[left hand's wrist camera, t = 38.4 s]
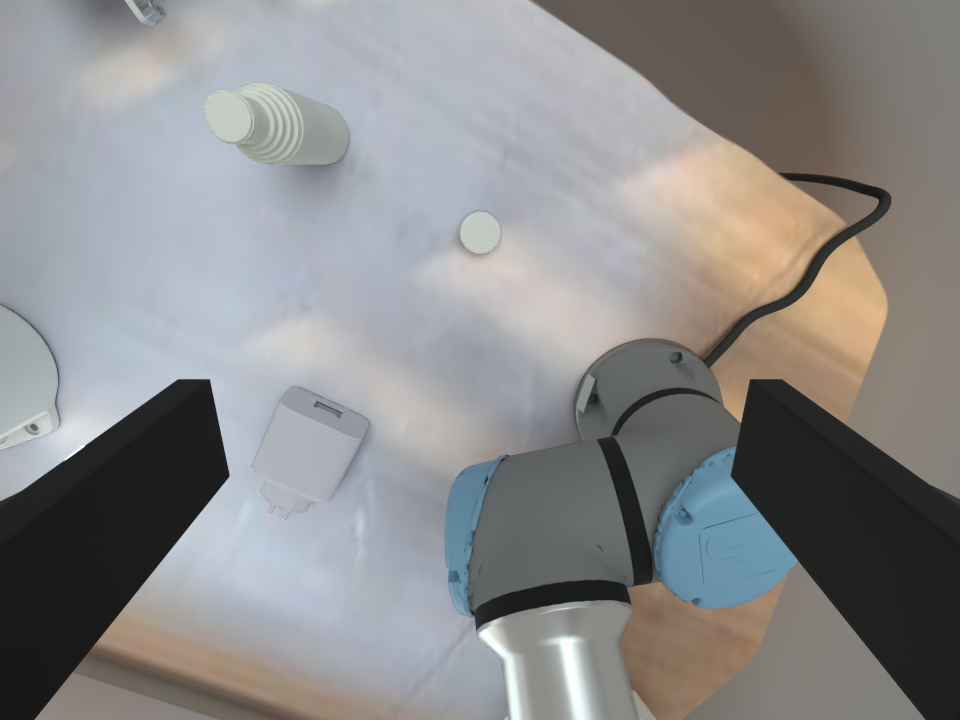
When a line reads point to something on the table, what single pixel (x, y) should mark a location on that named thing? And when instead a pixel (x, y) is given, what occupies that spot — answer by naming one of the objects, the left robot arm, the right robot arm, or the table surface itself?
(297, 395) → the charger
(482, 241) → the cap
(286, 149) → the bottle
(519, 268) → the table surface
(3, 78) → the table surface
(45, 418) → the right robot arm
